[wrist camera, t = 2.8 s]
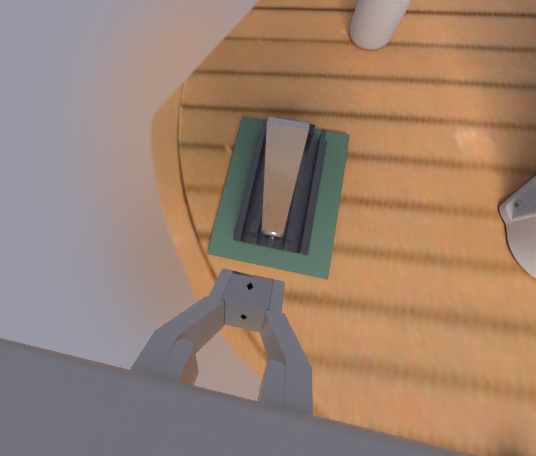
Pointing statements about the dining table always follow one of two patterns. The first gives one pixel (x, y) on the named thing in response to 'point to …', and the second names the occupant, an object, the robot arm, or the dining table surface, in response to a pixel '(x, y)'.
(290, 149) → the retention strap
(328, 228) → the circuit board
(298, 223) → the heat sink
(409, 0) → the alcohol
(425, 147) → the dining table surface
